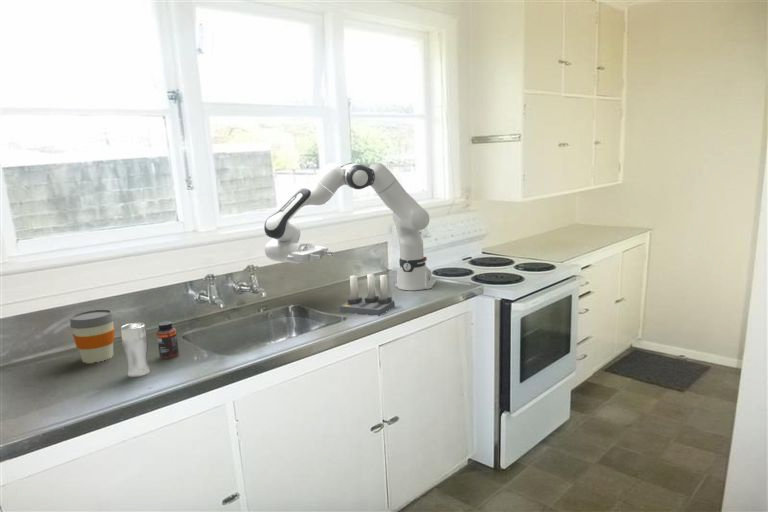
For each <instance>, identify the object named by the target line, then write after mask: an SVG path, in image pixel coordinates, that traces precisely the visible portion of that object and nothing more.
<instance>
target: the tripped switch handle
mask: <svg viewBox="0 0 768 512" xmlns="http://www.w3.org/2000/svg"><path fill="white" fill-rule="evenodd" d="M349 285H350V288H349V289H350V298H347V302H348V303H352V304H357V303H359V302H361V301H362V298H363V297H362V296H361V297H360V296H359V287H358V286H359V285H358V275H350V276H349Z"/></svg>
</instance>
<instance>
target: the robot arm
mask: <svg viewBox="0 0 768 512" xmlns="http://www.w3.org/2000/svg"><path fill="white" fill-rule="evenodd" d="M345 185H346V186H348V187H349V188H351V189H354V190H363V189H365V188H368V187H371V188H372V189H373V190H374V191H375V193H376V194H377V196H378V197H379V198H380V199H381V200H382V202H383V203H384V204H385V206H386V207H387V208H389V209H390V210H391V212H392V220H393V222H394V224H395V227H396V232H397V236H398V240H399V242H398V243H399V258H398V259H399V261H398V262H399V268H398V269H397V270H396V271H397V272H396V274H397V275H396V277H397V279H396V282H395V283H394V286H395V287H397V289H399V290H403V291H421V290H429V289H430V288H431V289H432V288H433V287H434V286H435V284H436V283H437V280H436V279H433V278H432V271H431V269H430V268H429V267H428V266H427V265H426V263H427V261H428V257H427V256H424V240H423V238H422V236H421V234H420V231H421V230H423V229H425V228H427V227H428V225H429V223H430V214H429V213H428V211H427V210H426V209H424V208H423V207H422V206H421V205H420V204H419V203H418V201H416V200H415V199H414V198H413V197H412V196H411V195H410V194H409V193H408V192H407V190H405V189H404V187H403V185H402V184H401V183H400V181H399V180H398V179H397V178H396V176H395V175H394V174H393V173H392V171H390V170H389V169H388V167H387V166H385V165H384V164H383V163H381V162H380V163H379V162H376V163H373V164H372V165H370V166H369V167H368V166H365V165H363V164H360V163H356V162H350V163H349V162H348V163H346V164H344V165H341V166H340V165H339V164H336V163H328V164H327V165H325V166H324V167H323V168H322V169H321V170H320V171H319V172H318V173H317V174H316V175H315V176H314V178H313V179H312V180H311V181H310V182H309V183H308V184H307V185H306V186H304V187H303V188H300V189H299V190H297V191H296V192H295V193H294V194H293V195H292V196H291V197H290V198H289V199H287V201H285V203H284V204H283V205H282V206H281V207H280V208H279V209H278V210H277V211H276V212H274V213H272V214H271V215H269V217H267V218H266V220H265V221H264V227H263V229H264V233H265V235H266V236H267V237H269V238H270V241H268V242H267V243H266V244H265V245H264V252H265V255H266V257H267V258H268V259H269V260H272V261H275V262H280V263H287V262H288V263H291V264H303V263H306V262H307V263H308V262H311V261H316V260H317V261H320V260H322V258H325V257H333V255H334V252H333V251H329V248H328V247H326V246H320V245H313V244H312V243H301V242H299V240H300V237H301V230H300V227H299V226H298V225H296V224H294V223H293V222H291V221H290V220H291V218H292V217H293V216H295V215H296V214H297V212H298V211H299V210H301V208H303V207H305V206H323V205H325V204H326V203H328V202H329V201H330V200H331V199H332V197H333V196H334V194H336V192H337V191H338V189H339V188H340V187H342V186H345ZM433 285H434V286H433Z"/></svg>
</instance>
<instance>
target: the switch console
mask: <svg viewBox="0 0 768 512" xmlns="http://www.w3.org/2000/svg"><path fill="white" fill-rule="evenodd" d="M366 278H367V279H366V280H367V297H362V301H361V302H359V303H357V304H352V303H348V301H347V302H345V303H343V304H341V305H339V311H340V312H339V313H345V314H346V313H348V314H355V313H357V314H358V315H365V314H368V315H367V316H374V315H378V316H377V317H380V316H382V315H384V314H386V313H387V312H389V311H390V310H392V309H393V308H395V306H396V305H395V300H393V297H392V296H389V288H388V287H389V283H388V281H389V280H388V274H387V275H386V274H382V275H381V274H380V276H379V282H380V283H379V284H380V287H379V288H380V297H379V295H376V283H375V281H376V280H375V274H372V273H371V274H370V273H369V274H367V277H366ZM391 308H392V309H391ZM389 309H390V310H389ZM386 311H387V312H386ZM383 313H384V314H383ZM357 314H356V315H357ZM381 314H382V315H381Z"/></svg>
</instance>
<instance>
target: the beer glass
mask: <svg viewBox="0 0 768 512" xmlns="http://www.w3.org/2000/svg"><path fill="white" fill-rule="evenodd" d="M120 337H121V338H120V339H121V346H122V349H123V353H124V356H125V358H126V360H127V365H128V366H127V369H128V370H127V376H128V377H129V378H139V377H144V376H146V375H148V374H149V373H150V372H151V369H150V366H149V362H148V348H149V347H148V346H149V345H148V343H149V341H148V333H147V328H146V324H145V323H144V322H131V323H127V324H124V325H122V326H121V327H120Z"/></svg>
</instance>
